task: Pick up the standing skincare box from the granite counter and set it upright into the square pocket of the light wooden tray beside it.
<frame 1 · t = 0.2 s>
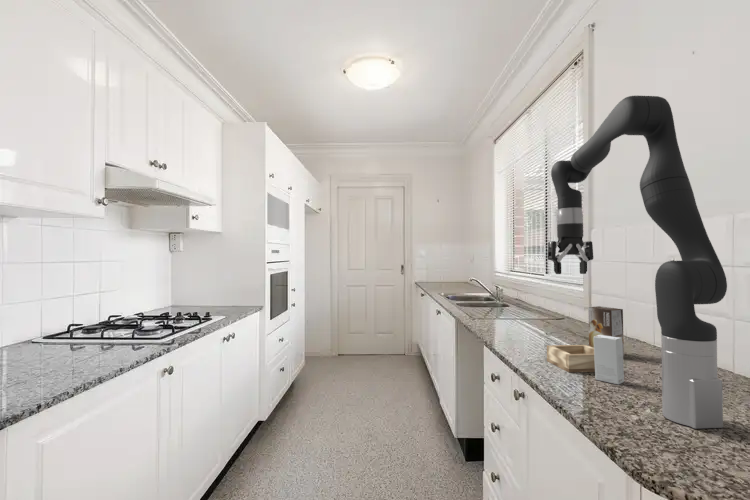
hand: (570, 273, 128), 28 cm above the countertop, fingers open, 8 cm apart
coffee box: (606, 354, 139), on the countertop
light wooden tray: (577, 365, 125), on the countertop
skincare box: (608, 381, 110), on the countertop
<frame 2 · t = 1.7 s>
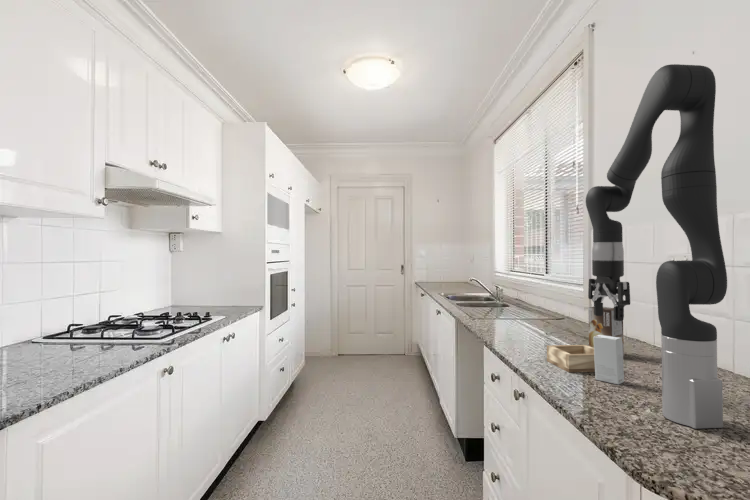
hand: (608, 318, 111), 17 cm above the countertop, fingers open, 8 cm apart
nothing on the countertop moved.
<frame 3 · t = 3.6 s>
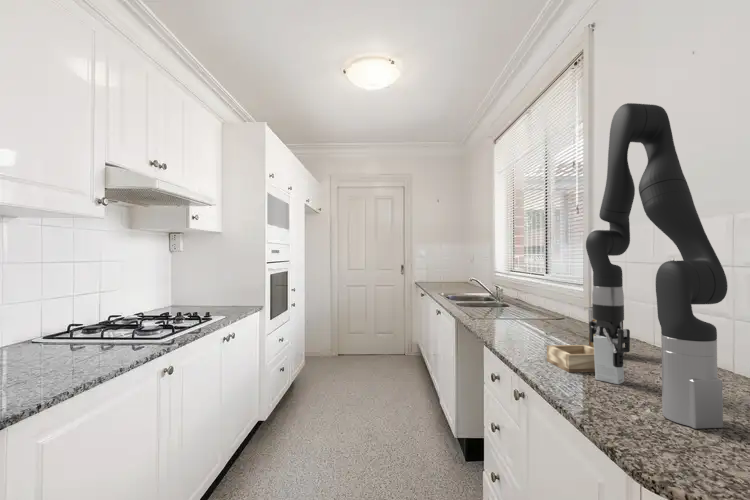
hand: (608, 363, 110), 5 cm above the countertop, fingers closed on skincare box, 7 cm apart
skincare box: (608, 381, 110), on the countertop, touching gripper
everything else where it was.
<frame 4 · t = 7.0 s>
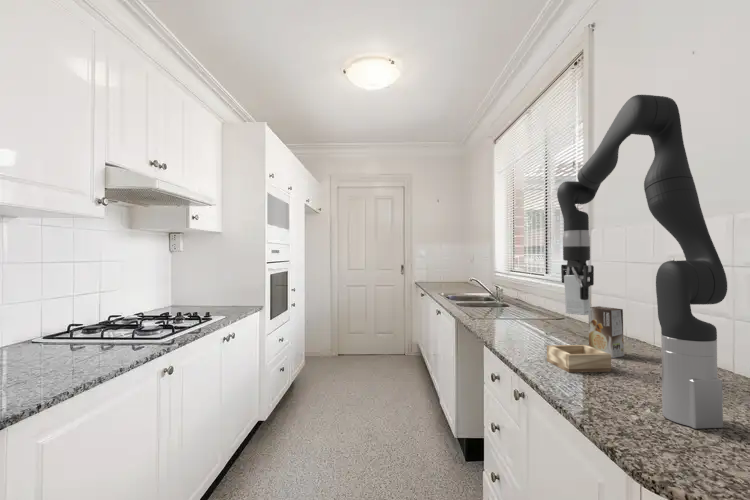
hand: (576, 298, 125), 21 cm above the countertop, fingers closed on skincare box, 7 cm apart
skincare box: (577, 314, 125), point 16 cm above the countertop, touching gripper
everything else where it was.
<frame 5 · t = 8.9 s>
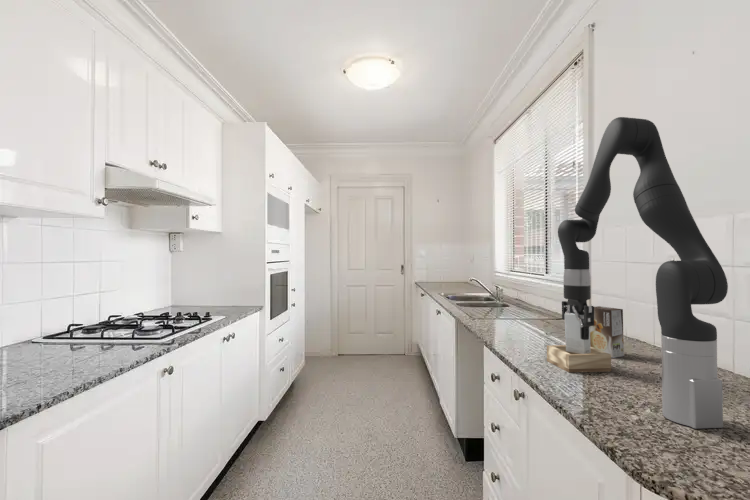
hand: (577, 336, 125), 9 cm above the countertop, fingers closed on skincare box, 7 cm apart
skincare box: (577, 353, 125), point 4 cm above the countertop, touching gripper
everything else where it was.
when the fingers open (7 cm above the countertop, at t = 10.4 s): skincare box drops 1 cm, resting on light wooden tray.
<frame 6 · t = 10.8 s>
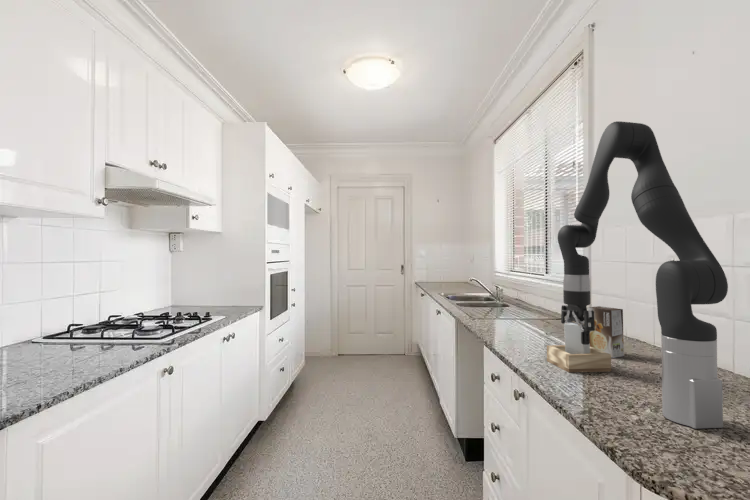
hand: (577, 341, 125), 8 cm above the countertop, fingers open, 8 cm apart
skincare box: (577, 363, 125), point 1 cm above the countertop, touching light wooden tray
everything else where it was.
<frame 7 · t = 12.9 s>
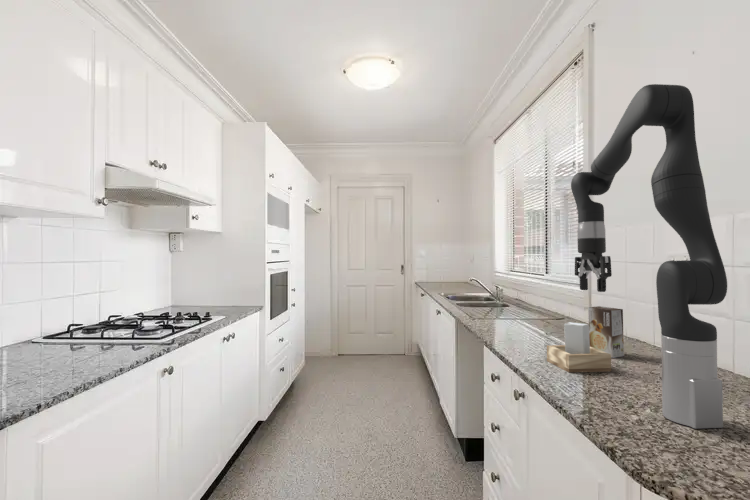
hand: (592, 290, 122), 24 cm above the countertop, fingers open, 8 cm apart
nothing on the countertop moved.
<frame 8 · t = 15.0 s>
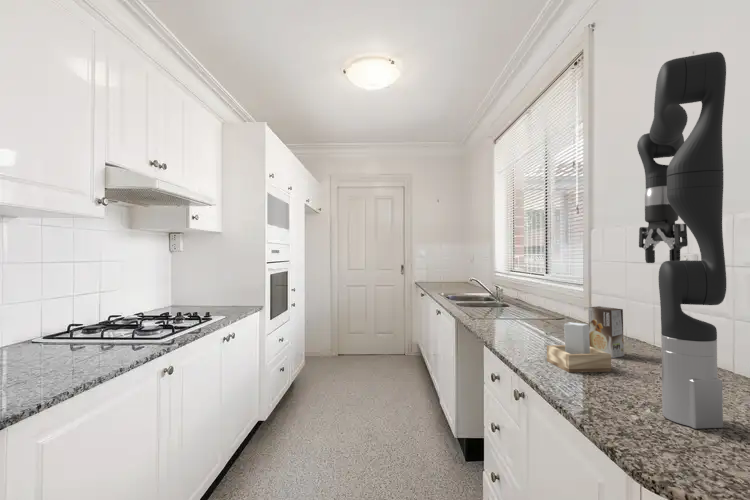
hand: (661, 263, 111), 32 cm above the countertop, fingers open, 8 cm apart
nothing on the countertop moved.
at the end: skincare box 0.1 cm off-centre on the light wooden tray, point 0.8 cm above the light wooden tray's base; skincare box tilted 0°; the gripper is holding nothing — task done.
